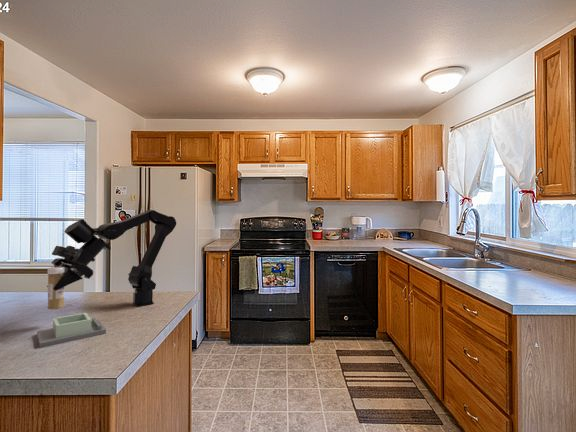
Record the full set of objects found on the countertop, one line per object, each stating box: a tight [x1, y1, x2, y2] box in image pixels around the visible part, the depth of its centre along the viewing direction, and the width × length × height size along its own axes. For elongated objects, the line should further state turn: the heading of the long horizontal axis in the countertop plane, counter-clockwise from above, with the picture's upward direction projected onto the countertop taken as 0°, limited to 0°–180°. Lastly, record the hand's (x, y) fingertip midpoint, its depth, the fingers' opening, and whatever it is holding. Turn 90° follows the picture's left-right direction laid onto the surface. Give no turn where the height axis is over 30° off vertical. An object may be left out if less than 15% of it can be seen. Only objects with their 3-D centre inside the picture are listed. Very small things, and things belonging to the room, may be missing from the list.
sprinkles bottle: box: [47, 266, 65, 311], centre depth 100 cm, size 5×5×14 cm
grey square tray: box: [36, 312, 107, 348], centre depth 93 cm, size 16×12×5 cm
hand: (51, 288), depth 99 cm, fingers closed on sprinkles bottle, 4 cm apart
